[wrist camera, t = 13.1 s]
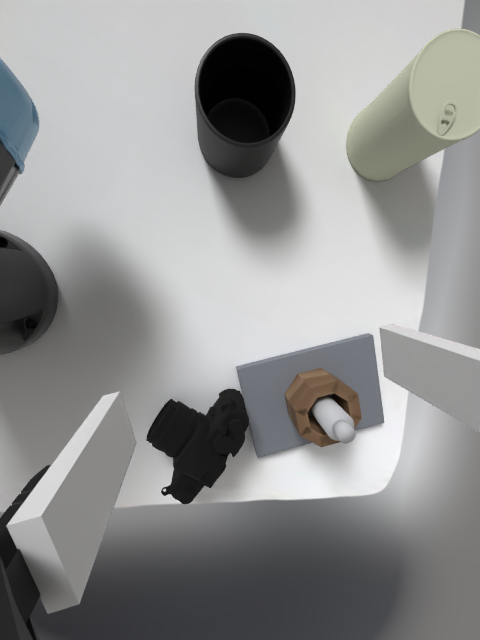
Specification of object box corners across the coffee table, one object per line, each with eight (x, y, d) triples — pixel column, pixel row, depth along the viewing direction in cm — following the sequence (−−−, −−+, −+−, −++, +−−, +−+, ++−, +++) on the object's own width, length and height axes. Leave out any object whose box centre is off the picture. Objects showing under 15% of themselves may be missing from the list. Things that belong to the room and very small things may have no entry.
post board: (256, 452, 42) (272, 512, 31) (236, 366, 39) (246, 400, 29) (379, 418, 43) (434, 464, 33) (368, 333, 41) (423, 354, 30)
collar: (291, 430, 41) (303, 452, 36) (280, 378, 39) (291, 393, 34) (345, 415, 41) (364, 435, 36) (337, 363, 40) (355, 376, 35)
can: (337, 169, 36) (399, 120, 25) (357, 94, 35) (433, 5, 23) (399, 189, 38) (485, 152, 26) (421, 118, 37) (522, 44, 25)
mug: (285, 85, 34) (312, 19, 25) (265, 186, 36) (284, 158, 27) (209, 61, 33) (209, -18, 24) (191, 168, 34) (186, 132, 26)
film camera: (196, 360, 39) (193, 386, 30) (251, 396, 40) (263, 431, 32) (134, 444, 40) (114, 493, 31) (191, 476, 41) (186, 531, 33)
